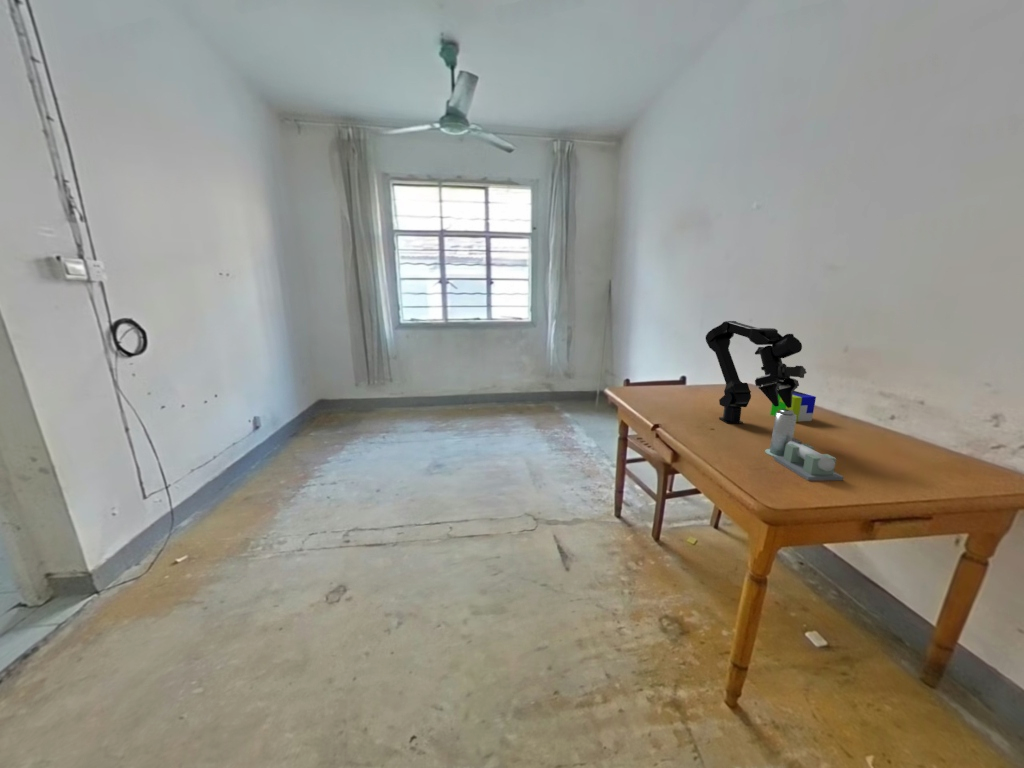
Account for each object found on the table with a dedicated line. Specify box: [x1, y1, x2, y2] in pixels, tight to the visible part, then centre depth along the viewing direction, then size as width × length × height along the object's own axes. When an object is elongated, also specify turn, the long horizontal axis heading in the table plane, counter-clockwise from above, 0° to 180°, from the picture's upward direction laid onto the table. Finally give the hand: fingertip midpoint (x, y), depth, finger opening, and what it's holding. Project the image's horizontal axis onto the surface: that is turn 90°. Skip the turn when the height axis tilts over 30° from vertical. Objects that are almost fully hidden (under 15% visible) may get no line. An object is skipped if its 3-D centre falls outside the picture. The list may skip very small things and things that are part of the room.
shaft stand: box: [773, 437, 845, 482], centre depth 118 cm, size 14×10×7 cm
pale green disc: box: [764, 448, 783, 458], centre depth 130 cm, size 8×8×1 cm
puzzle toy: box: [770, 390, 817, 423], centre depth 167 cm, size 10×10×10 cm
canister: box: [769, 409, 797, 457], centre depth 129 cm, size 6×6×14 cm
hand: (783, 407), depth 138 cm, fingers open, 9 cm apart
